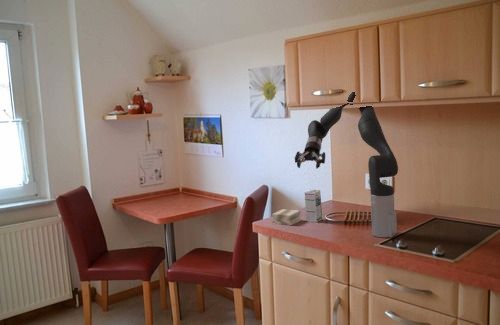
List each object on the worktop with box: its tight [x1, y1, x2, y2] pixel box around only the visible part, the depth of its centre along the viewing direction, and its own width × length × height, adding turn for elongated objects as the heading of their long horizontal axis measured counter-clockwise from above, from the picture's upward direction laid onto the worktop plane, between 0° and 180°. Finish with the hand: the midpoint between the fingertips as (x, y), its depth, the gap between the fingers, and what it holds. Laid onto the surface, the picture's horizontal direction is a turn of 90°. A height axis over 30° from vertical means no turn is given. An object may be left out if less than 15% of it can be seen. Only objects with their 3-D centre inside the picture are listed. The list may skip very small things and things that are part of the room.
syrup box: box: [303, 189, 323, 223], centre depth 213 cm, size 6×6×14 cm
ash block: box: [271, 208, 302, 226], centre depth 215 cm, size 10×10×5 cm
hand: (307, 166), depth 208 cm, fingers open, 8 cm apart
